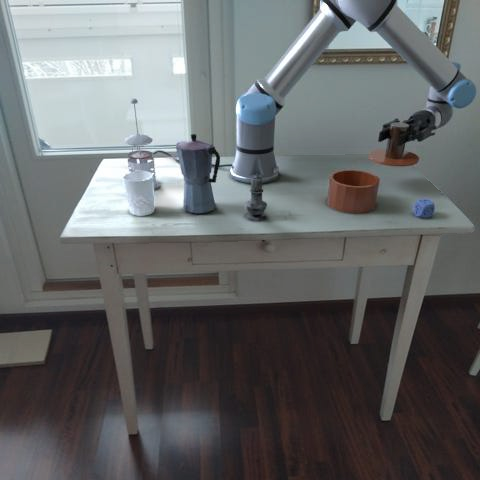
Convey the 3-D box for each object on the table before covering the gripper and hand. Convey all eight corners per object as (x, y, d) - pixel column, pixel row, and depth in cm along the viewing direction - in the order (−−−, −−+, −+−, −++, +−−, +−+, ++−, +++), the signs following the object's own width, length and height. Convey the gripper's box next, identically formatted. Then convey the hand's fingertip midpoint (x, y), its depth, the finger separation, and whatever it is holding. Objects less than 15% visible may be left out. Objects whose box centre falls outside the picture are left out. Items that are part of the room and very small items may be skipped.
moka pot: (191, 196, 142) (187, 126, 130) (233, 209, 135) (232, 136, 123) (169, 207, 136) (162, 134, 124) (211, 221, 129) (209, 145, 117)
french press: (132, 193, 143) (120, 104, 128) (123, 180, 152) (110, 95, 137) (163, 188, 147) (155, 100, 132) (153, 176, 155) (144, 92, 140)
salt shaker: (264, 222, 128) (266, 178, 121) (243, 220, 129) (243, 176, 122) (268, 213, 133) (270, 170, 126) (247, 211, 134) (248, 168, 127)
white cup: (131, 205, 137) (126, 170, 131) (158, 205, 137) (155, 170, 131) (125, 216, 130) (119, 180, 125) (154, 217, 130) (150, 181, 124)
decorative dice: (412, 213, 134) (415, 199, 131) (424, 211, 135) (428, 197, 132) (420, 219, 131) (423, 205, 128) (432, 217, 131) (436, 203, 129)
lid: (359, 161, 144) (364, 125, 138) (382, 149, 153) (388, 115, 147) (405, 172, 136) (413, 135, 130) (426, 159, 145) (434, 124, 139)
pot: (317, 204, 138) (320, 178, 134) (342, 190, 146) (345, 166, 142) (360, 217, 131) (364, 191, 127) (383, 202, 139) (388, 177, 135)
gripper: (449, 140, 148) (417, 159, 134) (394, 129, 158) (359, 145, 144) (455, 114, 144) (423, 131, 130) (398, 104, 153) (362, 119, 139)
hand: (389, 138), depth 137 cm, fingers closed on lid, 5 cm apart
